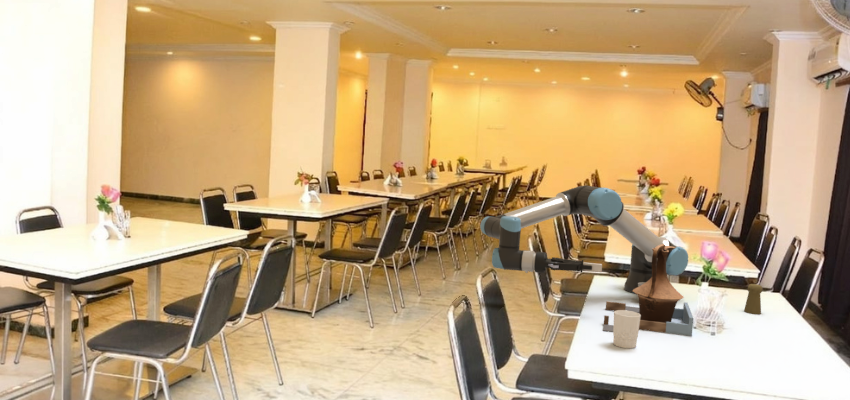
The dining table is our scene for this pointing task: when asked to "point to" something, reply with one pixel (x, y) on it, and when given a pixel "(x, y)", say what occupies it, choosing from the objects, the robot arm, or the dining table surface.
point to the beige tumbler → (626, 328)
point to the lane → (643, 323)
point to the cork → (753, 299)
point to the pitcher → (658, 290)
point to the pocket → (679, 327)
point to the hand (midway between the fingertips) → (601, 268)
